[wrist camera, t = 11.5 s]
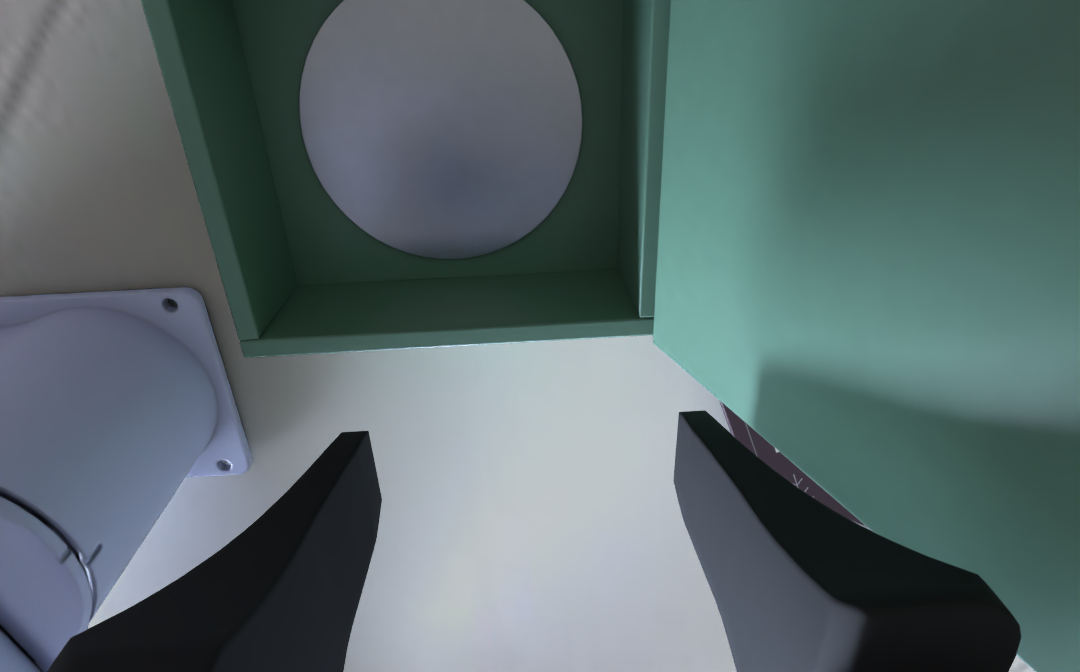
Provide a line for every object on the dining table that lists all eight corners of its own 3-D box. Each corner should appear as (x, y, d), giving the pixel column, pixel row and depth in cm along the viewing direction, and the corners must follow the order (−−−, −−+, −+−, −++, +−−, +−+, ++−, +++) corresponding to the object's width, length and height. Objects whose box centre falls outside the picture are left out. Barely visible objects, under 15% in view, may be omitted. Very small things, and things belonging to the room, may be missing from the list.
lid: (1184, 803, 8) (1213, 783, 8) (2359, -673, 3) (2368, -634, 3) (651, 343, 19) (669, 339, 19) (676, -126, 13) (700, -125, 14)
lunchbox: (289, 294, 23) (243, 358, 19) (200, -79, 18) (109, -103, 13) (630, 276, 23) (658, 335, 19) (642, -95, 18) (683, -122, 14)
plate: (329, 263, 22) (328, 266, 22) (271, -28, 18) (268, -28, 18) (582, 250, 22) (583, 252, 22) (581, -40, 18) (582, -41, 18)
